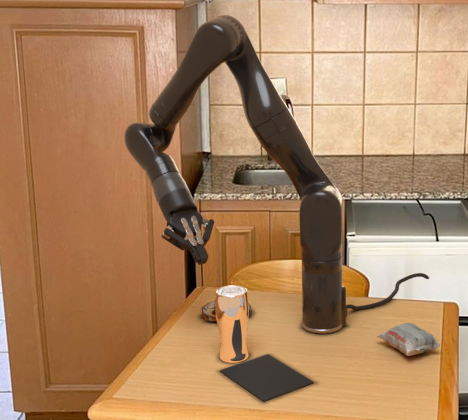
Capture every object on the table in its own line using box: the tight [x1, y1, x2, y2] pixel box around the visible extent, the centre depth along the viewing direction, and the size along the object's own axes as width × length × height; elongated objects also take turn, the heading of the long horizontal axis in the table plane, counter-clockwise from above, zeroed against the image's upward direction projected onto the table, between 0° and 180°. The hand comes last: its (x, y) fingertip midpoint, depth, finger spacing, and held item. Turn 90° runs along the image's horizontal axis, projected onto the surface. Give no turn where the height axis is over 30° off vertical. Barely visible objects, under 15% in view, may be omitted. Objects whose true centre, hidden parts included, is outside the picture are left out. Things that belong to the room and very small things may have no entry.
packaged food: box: [376, 322, 441, 357], centre depth 174 cm, size 9×12×5 cm
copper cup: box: [214, 284, 250, 364], centre depth 170 cm, size 7×7×15 cm
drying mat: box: [219, 353, 315, 403], centre depth 163 cm, size 16×12×1 cm
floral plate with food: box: [201, 300, 253, 323], centre depth 193 cm, size 12×12×8 cm
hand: (203, 262), depth 176 cm, fingers closed
